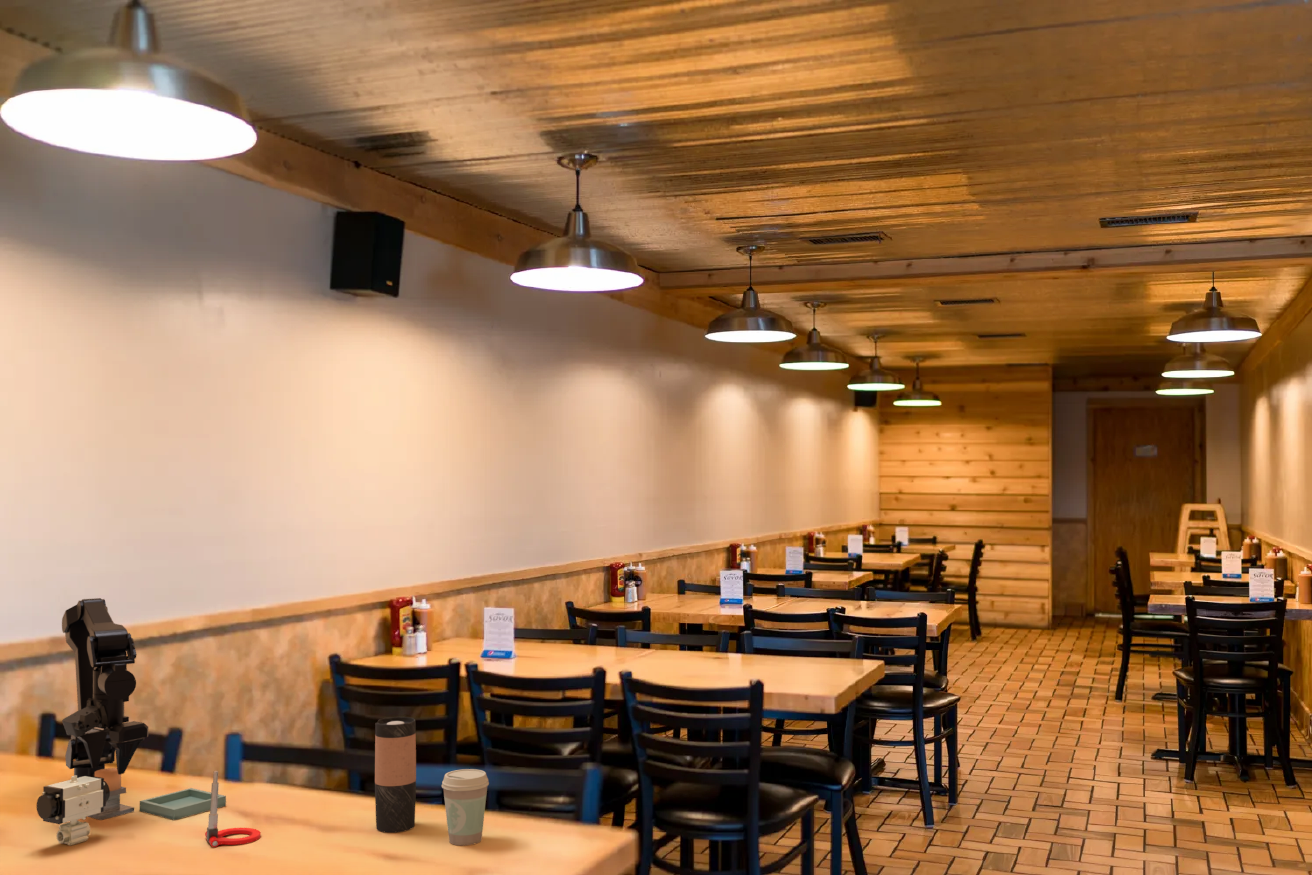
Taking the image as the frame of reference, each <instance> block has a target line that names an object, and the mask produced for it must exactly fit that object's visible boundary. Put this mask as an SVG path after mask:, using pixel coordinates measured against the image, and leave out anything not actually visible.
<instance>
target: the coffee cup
mask: <svg viewBox="0 0 1312 875" xmlns="http://www.w3.org/2000/svg"><path fill="white" fill-rule="evenodd" d="M441 783H442V784H441V788H442V789H443V797H444V798H443V799H444V807H445V808H444V809H445V814H446V815H445V816H446V824H447V825H446V826H447V833H448V841H449V843H450V844H452V845H455V846H472V845H475V844H474V843H476V844H478V843H480V842H481V841H482V838H483V830H484V823H485V822H484V820H485V811H486V810H485V809H486V803H487V802H486V801H487V793H488V792H487V791H488V786H490V785H489V784H490V782H489V778H488V776H487V772H486V771H484V770H482V769H476V768H470V769H469V768H463V769H457V770H452V771H448V772H446V773H445V774H444V776H443V780H442V782H441ZM471 844H472V845H471Z"/></svg>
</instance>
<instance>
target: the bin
mask: <svg viewBox="0 0 1312 875" xmlns="http://www.w3.org/2000/svg"><path fill="white" fill-rule="evenodd" d="M226 803H227V796H226V795H223V794H219V793H218V804H217V809H219V808H223V807H226V805H227V804H226ZM210 807H211V792H210V791H206V790H201V789H198V788H192V787H189V788H186V789H182V790H178V791H174V792H170V793H165V794H162V795H158V796H155V797H151V798H146V799H142V800H139V812H141V813H144V814H145V813H146V814H148V815H153V816H156V817H160V818H164V819H167V820H173V821H176V820H179V819H183V818H186V817H191V816H194V815H198V814H202V813H205V812H210Z"/></svg>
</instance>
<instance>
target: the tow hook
mask: <svg viewBox="0 0 1312 875" xmlns="http://www.w3.org/2000/svg"><path fill="white" fill-rule="evenodd" d="M212 778H213V779H212V783H211V807H210V810H209V813H208V821H207V822H208V823H207V824H208V825H207V828H206V832H204V833H205V834H204V836H205V838H206V841H207V842H208V844H210V846H211V847H212V848H217V847H219V846H221V845H225V846H226V845H228V846H233V845H234V846H235V845H244V844H251V843H253V842H256V841H258V840H259V839H260V838H261V831H260V830H259V829H257V828H251V827H231V828H225V829H220V830H219V829H218V822H219V813H218V808H217V804H218V794H219V786H220V785H219V784H220V783H219V782H218V779H219V771H218V770H214V771H213V777H212ZM241 834H243V835H248V836H243V837H238V838H236V837H234V838H232V837H231V838H230V837H226V836H230V835H241Z"/></svg>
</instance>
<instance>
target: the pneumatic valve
mask: <svg viewBox="0 0 1312 875" xmlns="http://www.w3.org/2000/svg"><path fill="white" fill-rule="evenodd" d="M42 788H43V789H42V790H43V791H42V792H41V795H40V796H39V797H38V798H37V800H36V812H37V815H38V817H39V818H41V819H42V821H43V822H44V823H51V824H57V825H59V826H58V831H57V832H56V839H57V842H58V844H66V845H68V846H70V847H71V846H75V845H78V844H80V843H85V842H86V841H88V839H90V838H89V834H90V832H91V826H90V825H89V824H90V823H89V822H87V821H80V820H86V819H87V818H86V817H87V816H90V815H94V814H97V813H101V812H104V806H106V802H107V801H108V799H109V796H110V789H109V786H108V784H107V783H106V782H105V781H104V778H101V777H95V776H89V775H87V776H83V777H79V778H77V776H76V775H75V776H74V775H72V776H70V779H68V780H65V781H60V782H55V783H52V784H48V785H45V786H43V787H42Z"/></svg>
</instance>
